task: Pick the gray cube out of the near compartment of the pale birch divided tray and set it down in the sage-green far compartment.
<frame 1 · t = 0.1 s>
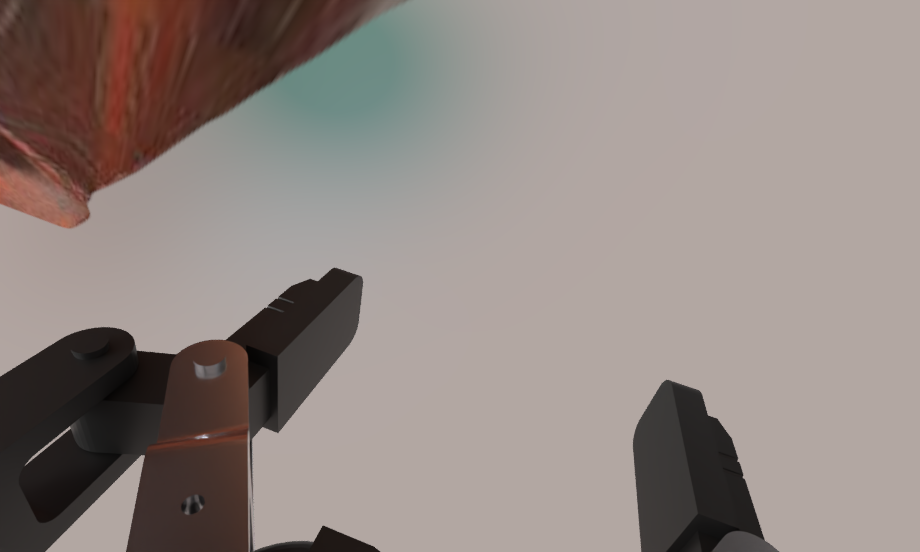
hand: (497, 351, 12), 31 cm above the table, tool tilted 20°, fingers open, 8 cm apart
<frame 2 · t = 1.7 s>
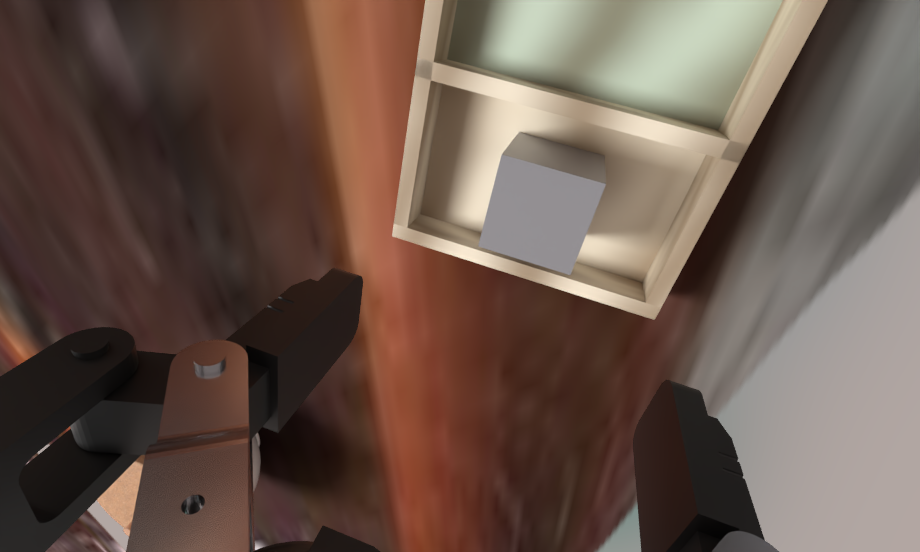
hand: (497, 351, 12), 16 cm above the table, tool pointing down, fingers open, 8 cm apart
lidded bowl: (229, 426, 45), on the table
gray cube: (548, 184, 24), point 1 cm above the table, touching tray
tray: (575, 99, 23), on the table
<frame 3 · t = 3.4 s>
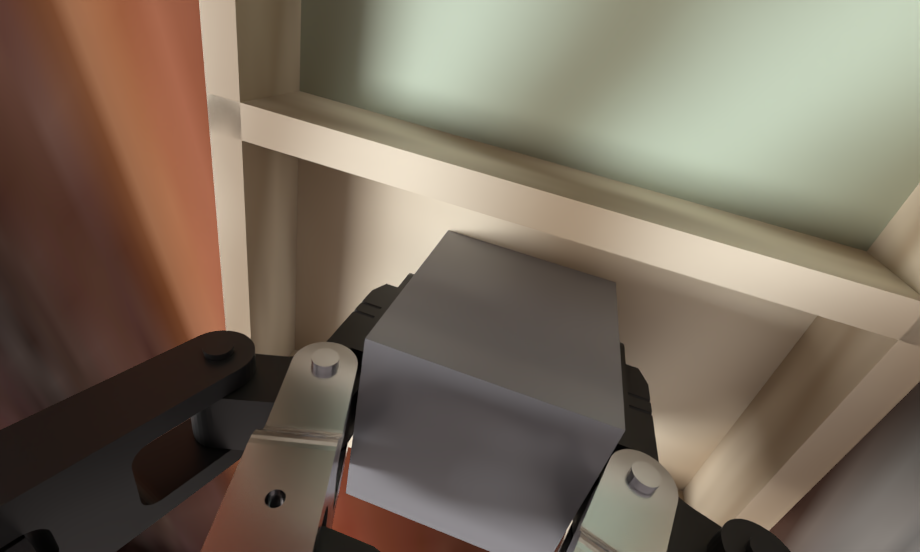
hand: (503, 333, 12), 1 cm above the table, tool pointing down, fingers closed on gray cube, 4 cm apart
gray cube: (507, 323, 13), point 1 cm above the table, touching gripper, tray
tray: (557, 172, 11), on the table
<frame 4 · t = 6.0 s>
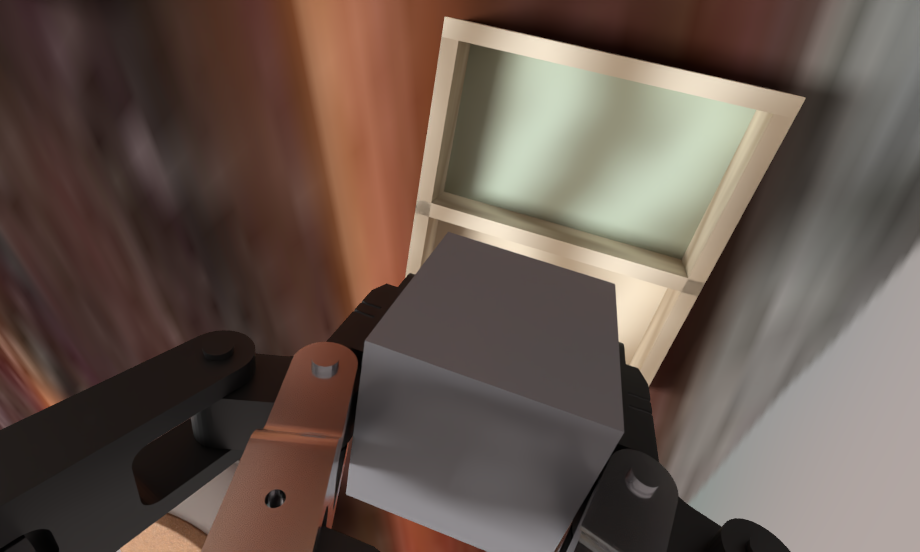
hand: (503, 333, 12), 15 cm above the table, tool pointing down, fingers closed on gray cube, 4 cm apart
lidded bowl: (246, 481, 48), on the table
gray cube: (507, 324, 13), point 14 cm above the table, touching gripper
tray: (557, 225, 26), on the table
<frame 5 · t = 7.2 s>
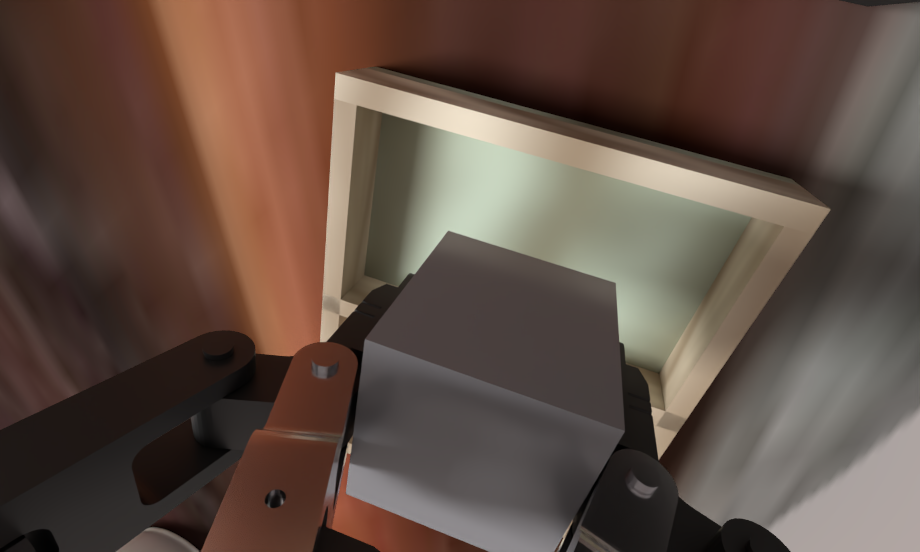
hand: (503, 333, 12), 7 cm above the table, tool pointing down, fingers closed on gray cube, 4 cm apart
lidded bowl: (178, 549, 43), on the table
gray cube: (507, 323, 13), point 6 cm above the table, touching gripper
tray: (506, 319, 21), on the table
when the fingers open (3 cm above the table, at t = 8.4 s): gray cube drops 1 cm, resting on tray.
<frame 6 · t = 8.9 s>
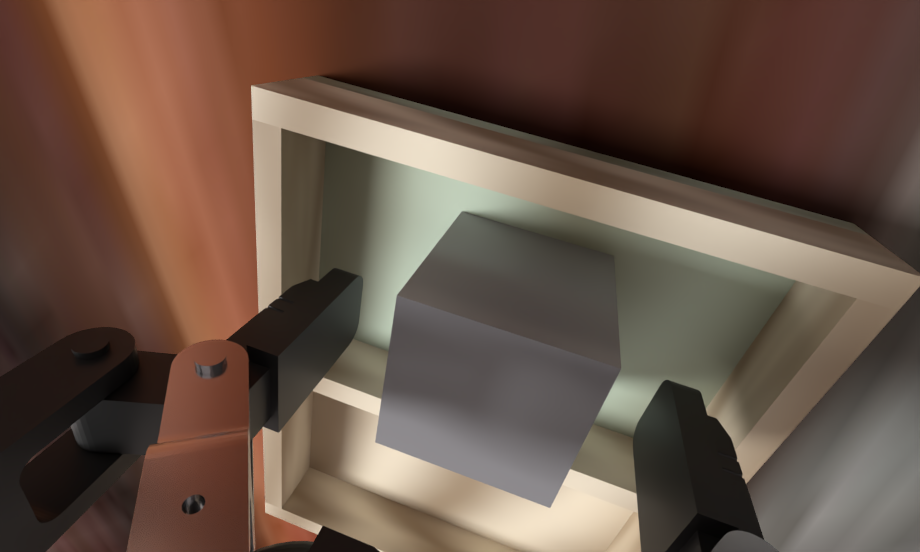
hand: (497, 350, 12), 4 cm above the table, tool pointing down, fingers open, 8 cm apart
gray cube: (516, 296, 14), point 1 cm above the table, touching tray
tray: (488, 379, 17), on the table
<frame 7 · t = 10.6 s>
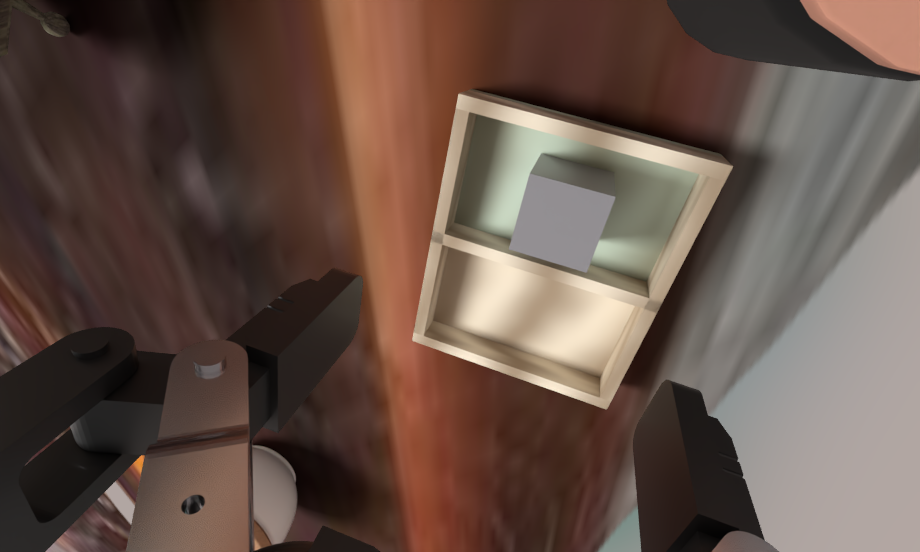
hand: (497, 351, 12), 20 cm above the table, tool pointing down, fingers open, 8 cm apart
lidded bowl: (270, 466, 53), on the table
gray cube: (566, 197, 28), point 1 cm above the table, touching tray
tray: (546, 251, 31), on the table
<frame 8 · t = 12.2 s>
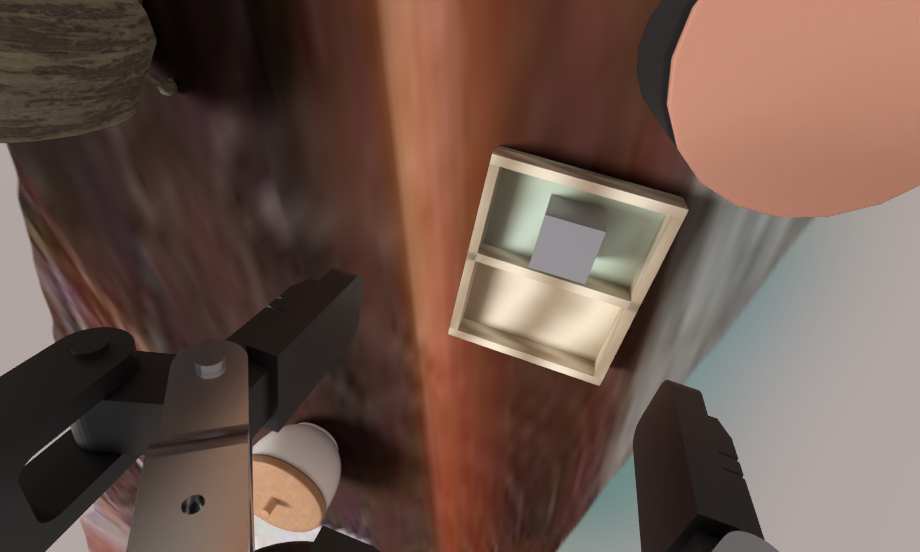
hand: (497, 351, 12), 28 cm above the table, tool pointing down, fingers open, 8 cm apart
lidded bowl: (315, 440, 63), on the table
tabletop clock: (136, 19, 41), on the table
coffee jar: (719, 51, 31), on the table
gray cube: (569, 226, 38), point 1 cm above the table, touching tray
tray: (554, 265, 41), on the table
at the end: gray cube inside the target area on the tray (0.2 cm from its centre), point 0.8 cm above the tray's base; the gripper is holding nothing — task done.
